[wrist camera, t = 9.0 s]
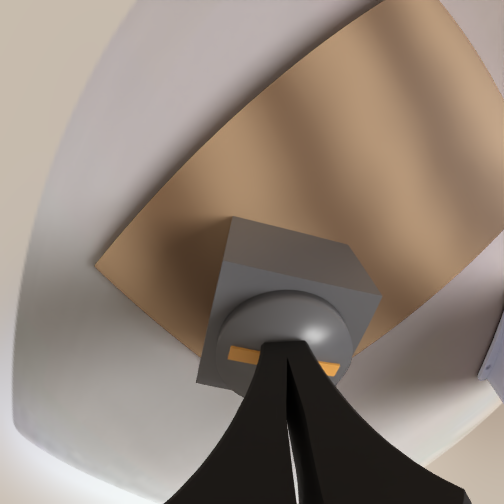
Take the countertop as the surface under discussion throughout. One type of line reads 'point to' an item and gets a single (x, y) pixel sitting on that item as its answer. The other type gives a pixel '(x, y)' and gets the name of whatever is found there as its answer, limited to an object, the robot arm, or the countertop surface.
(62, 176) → the countertop surface
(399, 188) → the parts board
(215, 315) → the knob
